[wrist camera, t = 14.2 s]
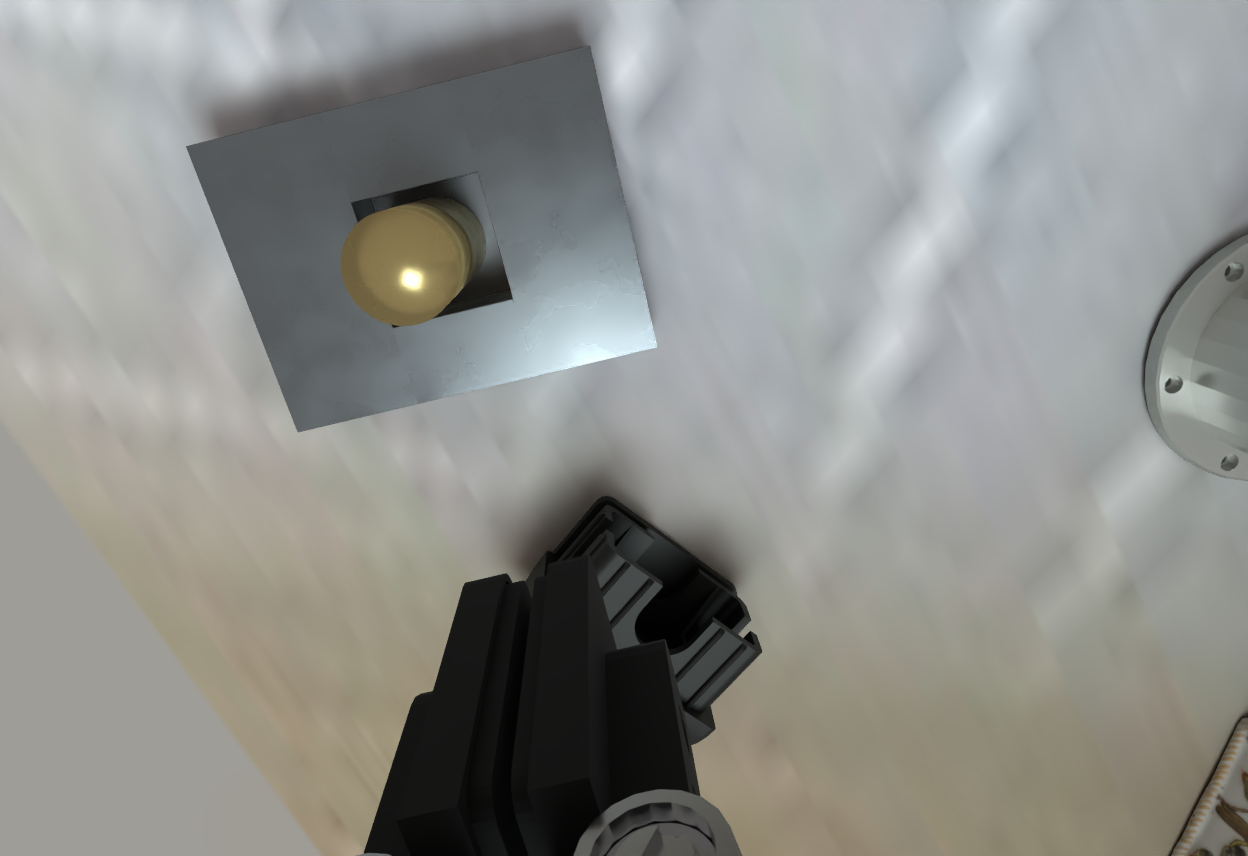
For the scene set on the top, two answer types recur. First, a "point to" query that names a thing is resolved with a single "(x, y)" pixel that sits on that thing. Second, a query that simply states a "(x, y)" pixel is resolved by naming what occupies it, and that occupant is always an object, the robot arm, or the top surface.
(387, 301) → the beige cylinder
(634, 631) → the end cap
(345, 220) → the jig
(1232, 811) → the decorative jar
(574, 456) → the top surface
